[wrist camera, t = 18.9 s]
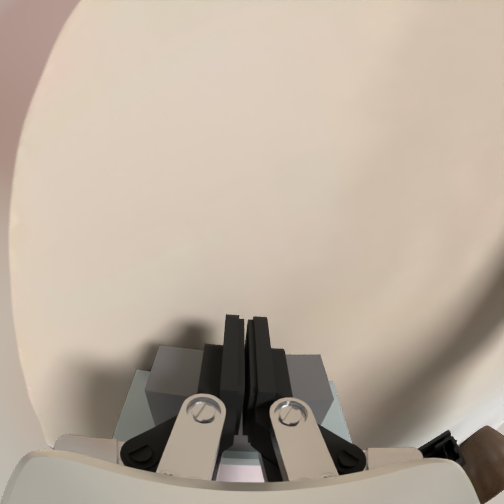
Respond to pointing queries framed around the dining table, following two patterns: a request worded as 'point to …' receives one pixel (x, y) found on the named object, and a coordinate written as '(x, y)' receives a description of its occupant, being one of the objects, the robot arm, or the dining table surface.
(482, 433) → the plant pot
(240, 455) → the tray
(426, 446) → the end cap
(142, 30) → the dining table surface
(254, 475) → the smoothie
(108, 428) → the dining table surface
